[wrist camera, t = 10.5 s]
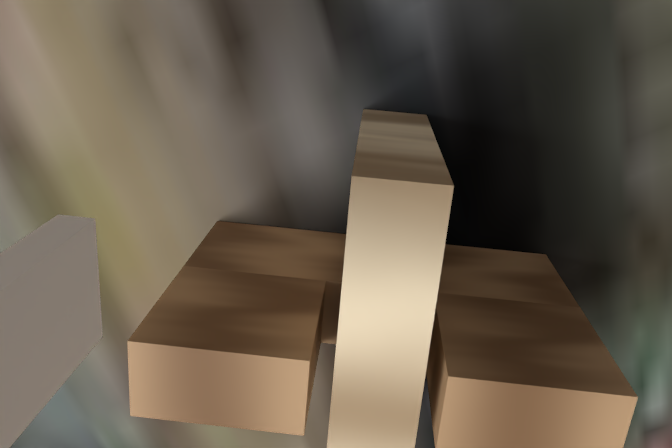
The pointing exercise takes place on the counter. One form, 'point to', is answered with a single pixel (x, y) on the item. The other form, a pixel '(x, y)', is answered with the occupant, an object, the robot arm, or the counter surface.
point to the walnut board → (322, 326)
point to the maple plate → (389, 281)
